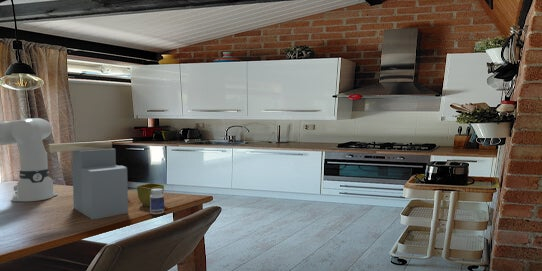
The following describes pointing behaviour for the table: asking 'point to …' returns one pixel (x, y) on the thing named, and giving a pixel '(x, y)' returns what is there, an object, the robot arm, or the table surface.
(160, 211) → the pill bottle
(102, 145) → the wooden rod
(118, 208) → the stepped shelf
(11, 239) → the table surface
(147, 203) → the flower pot
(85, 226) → the table surface
